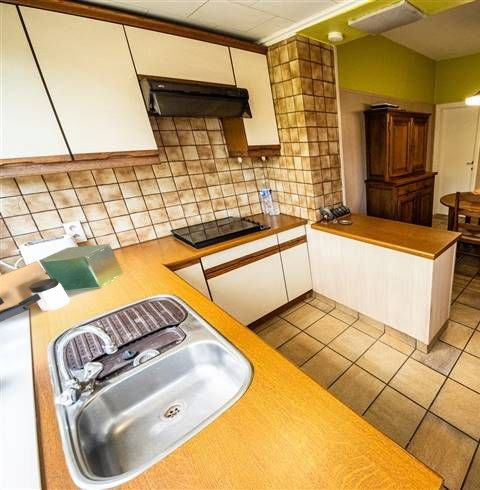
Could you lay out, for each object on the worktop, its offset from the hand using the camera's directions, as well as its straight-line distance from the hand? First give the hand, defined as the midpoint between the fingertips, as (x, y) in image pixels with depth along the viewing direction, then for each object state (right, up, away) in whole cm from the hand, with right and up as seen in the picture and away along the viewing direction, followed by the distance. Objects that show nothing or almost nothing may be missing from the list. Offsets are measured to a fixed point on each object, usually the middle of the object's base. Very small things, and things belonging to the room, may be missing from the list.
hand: (20, 298), depth 107 cm
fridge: (-3, +2, +31) cm, 32 cm away
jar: (-1, -6, +13) cm, 15 cm away
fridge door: (-15, -6, +14) cm, 22 cm away
